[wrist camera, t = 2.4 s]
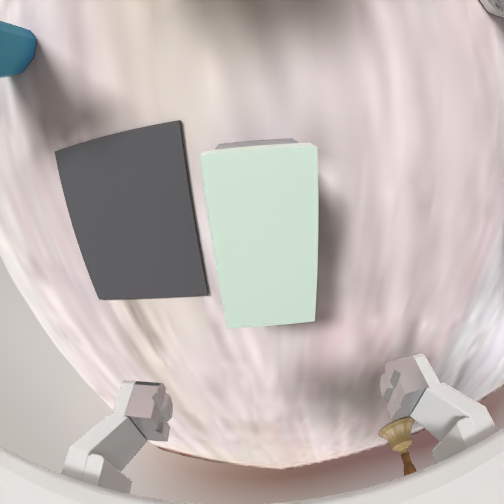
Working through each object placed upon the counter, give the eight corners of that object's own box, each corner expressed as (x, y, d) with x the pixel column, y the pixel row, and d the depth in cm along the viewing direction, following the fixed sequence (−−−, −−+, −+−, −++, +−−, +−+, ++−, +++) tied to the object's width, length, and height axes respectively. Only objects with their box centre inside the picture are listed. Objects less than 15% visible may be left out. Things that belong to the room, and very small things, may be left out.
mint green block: (306, 140, 18) (317, 146, 15) (307, 296, 24) (314, 321, 21) (207, 148, 18) (199, 155, 16) (229, 302, 24) (227, 328, 21)
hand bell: (378, 439, 50) (393, 497, 36) (378, 426, 46) (396, 491, 32) (411, 426, 49) (430, 482, 35) (415, 411, 45) (438, 474, 31)
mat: (180, 120, 22) (179, 120, 21) (208, 292, 30) (207, 295, 29) (57, 150, 22) (54, 151, 22) (100, 297, 30) (99, 299, 30)
